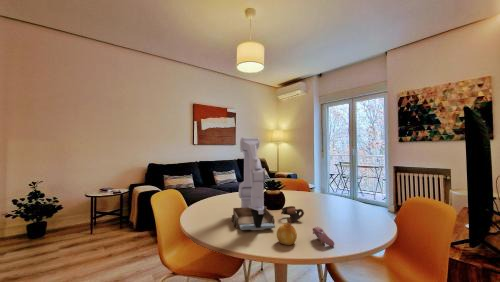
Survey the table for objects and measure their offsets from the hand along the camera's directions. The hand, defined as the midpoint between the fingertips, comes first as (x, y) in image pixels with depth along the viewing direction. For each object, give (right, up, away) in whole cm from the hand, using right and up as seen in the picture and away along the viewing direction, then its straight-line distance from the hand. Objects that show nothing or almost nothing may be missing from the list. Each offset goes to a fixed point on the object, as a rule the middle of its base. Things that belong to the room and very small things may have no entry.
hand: (257, 226), depth 106 cm
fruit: (+11, -2, -13) cm, 17 cm away
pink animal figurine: (+26, -2, -12) cm, 29 cm away
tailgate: (-1, 0, +4) cm, 4 cm away
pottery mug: (+19, -3, +16) cm, 25 cm away
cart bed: (-2, -2, +11) cm, 12 cm away
